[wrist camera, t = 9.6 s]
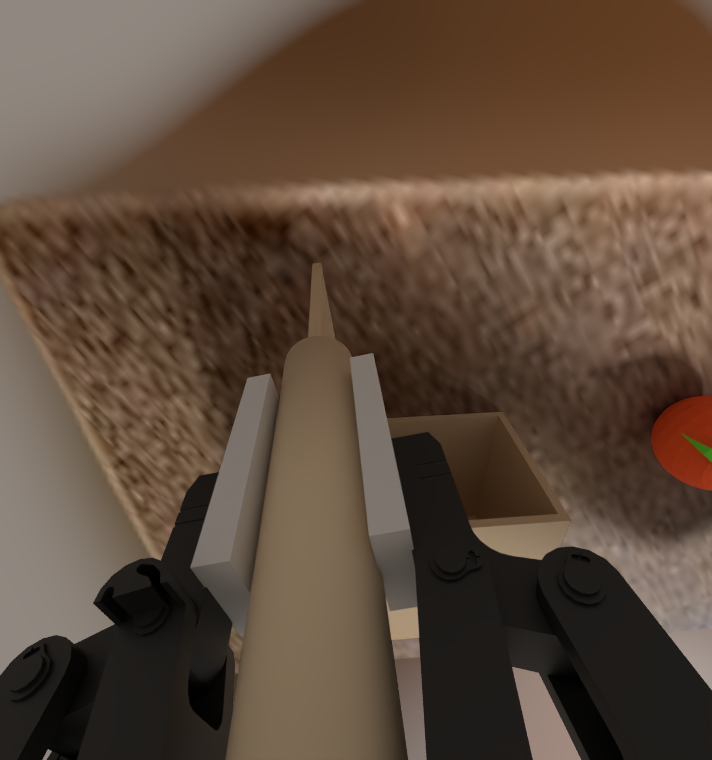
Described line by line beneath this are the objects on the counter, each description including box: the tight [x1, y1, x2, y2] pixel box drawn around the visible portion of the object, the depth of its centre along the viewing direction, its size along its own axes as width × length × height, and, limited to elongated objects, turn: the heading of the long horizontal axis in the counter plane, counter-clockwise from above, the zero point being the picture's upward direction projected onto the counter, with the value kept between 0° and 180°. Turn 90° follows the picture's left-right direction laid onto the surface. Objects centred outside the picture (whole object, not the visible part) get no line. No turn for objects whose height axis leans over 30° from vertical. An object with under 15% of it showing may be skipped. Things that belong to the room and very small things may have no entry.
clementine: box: [651, 396, 712, 491], centre depth 29 cm, size 8×7×7 cm
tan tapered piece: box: [225, 262, 408, 760], centre depth 17 cm, size 12×3×22 cm, turn 8°
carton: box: [386, 412, 571, 640], centre depth 29 cm, size 12×12×10 cm
